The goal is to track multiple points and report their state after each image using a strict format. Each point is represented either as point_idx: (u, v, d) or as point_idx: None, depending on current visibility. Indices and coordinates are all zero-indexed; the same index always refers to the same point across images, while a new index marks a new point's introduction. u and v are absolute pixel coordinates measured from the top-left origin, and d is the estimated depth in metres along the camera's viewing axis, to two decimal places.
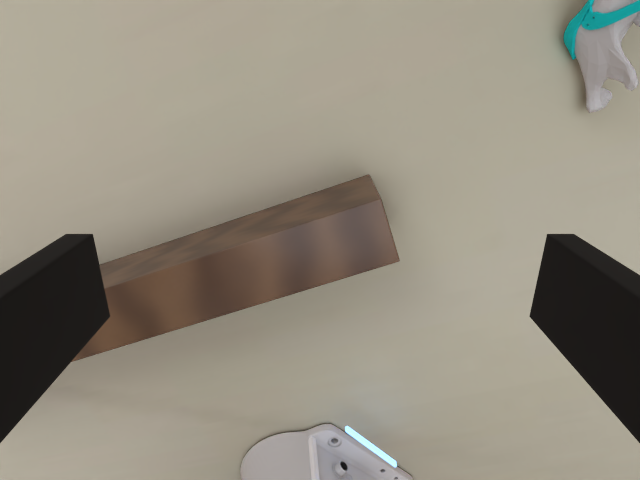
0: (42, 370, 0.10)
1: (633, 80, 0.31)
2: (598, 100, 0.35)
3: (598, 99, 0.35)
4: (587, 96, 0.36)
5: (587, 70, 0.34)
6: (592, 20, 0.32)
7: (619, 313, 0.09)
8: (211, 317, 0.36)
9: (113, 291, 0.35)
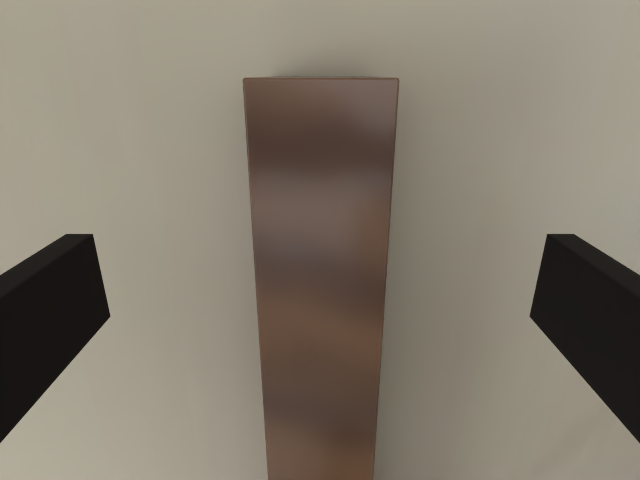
0: (42, 370, 0.10)
1: None
2: None
3: None
4: None
5: None
6: None
7: (619, 313, 0.09)
8: (373, 433, 0.21)
9: None
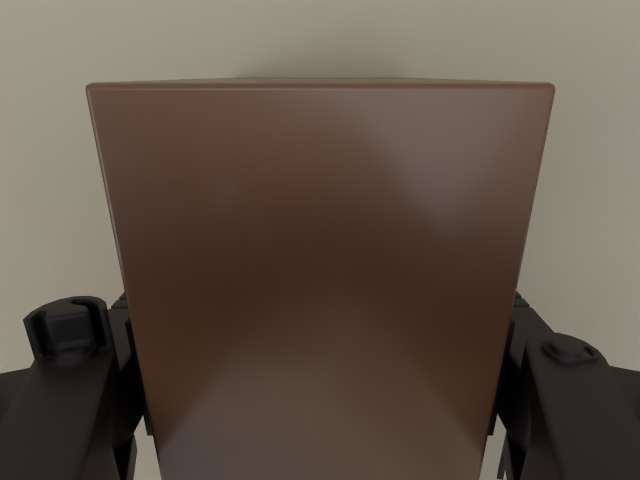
0: None
1: None
2: None
3: None
4: None
5: None
6: None
7: None
8: None
9: None
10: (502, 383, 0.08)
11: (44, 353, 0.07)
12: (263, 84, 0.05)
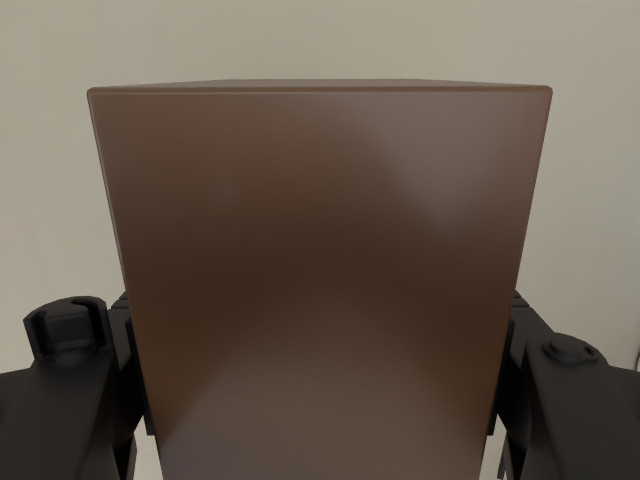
0: None
1: None
2: None
3: None
4: None
5: None
6: None
7: None
8: None
9: None
10: (503, 383, 0.08)
11: (44, 353, 0.07)
12: (263, 88, 0.05)
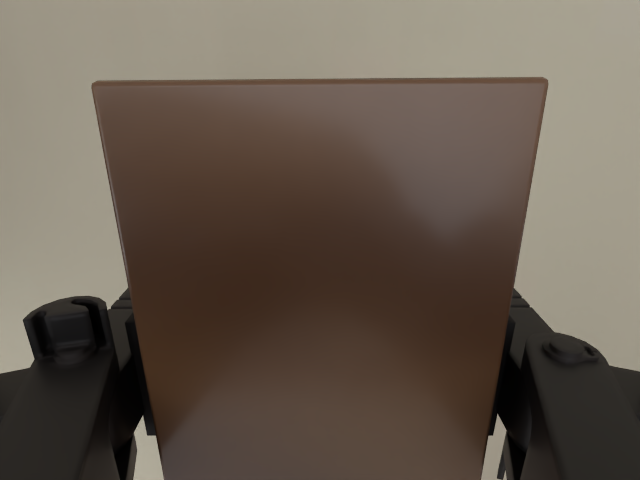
0: None
1: None
2: None
3: None
4: None
5: None
6: None
7: None
8: None
9: None
10: (502, 383, 0.08)
11: (44, 353, 0.07)
12: (264, 81, 0.05)
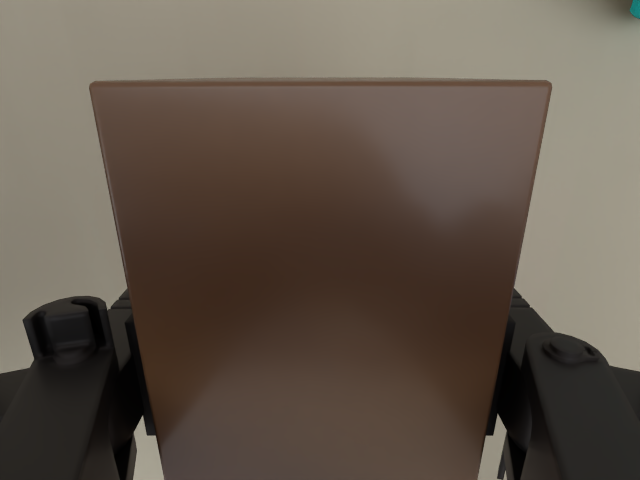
0: None
1: None
2: None
3: None
4: None
5: None
6: None
7: None
8: None
9: None
10: (502, 383, 0.08)
11: (44, 353, 0.07)
12: (264, 82, 0.05)
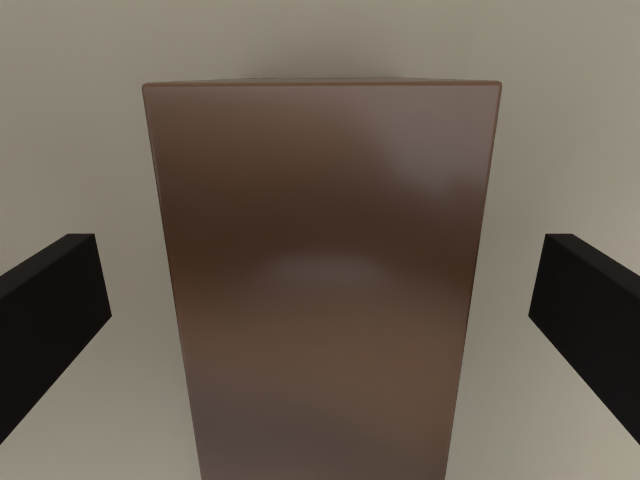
0: (44, 369, 0.10)
1: None
2: None
3: None
4: None
5: None
6: None
7: (617, 312, 0.09)
8: None
9: None
10: None
11: None
12: (277, 83, 0.06)
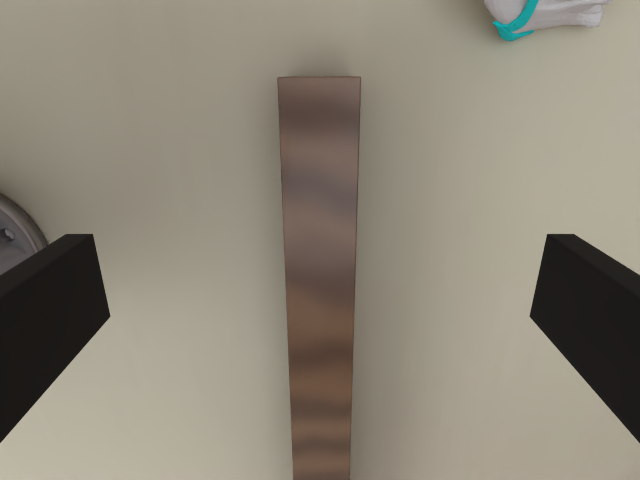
0: (42, 370, 0.10)
1: (603, 0, 0.29)
2: (592, 16, 0.32)
3: (591, 16, 0.32)
4: (580, 24, 0.33)
5: (555, 25, 0.32)
6: (515, 25, 0.31)
7: (619, 313, 0.09)
8: (352, 295, 0.34)
9: (294, 363, 0.36)
10: None
11: None
12: (309, 77, 0.28)
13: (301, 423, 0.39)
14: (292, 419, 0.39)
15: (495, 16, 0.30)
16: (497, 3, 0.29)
